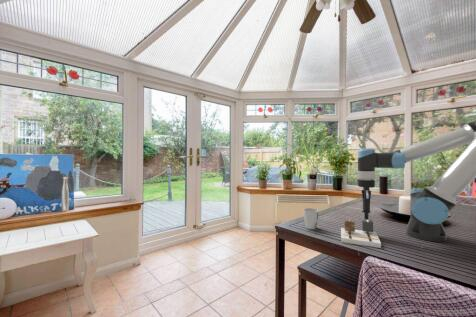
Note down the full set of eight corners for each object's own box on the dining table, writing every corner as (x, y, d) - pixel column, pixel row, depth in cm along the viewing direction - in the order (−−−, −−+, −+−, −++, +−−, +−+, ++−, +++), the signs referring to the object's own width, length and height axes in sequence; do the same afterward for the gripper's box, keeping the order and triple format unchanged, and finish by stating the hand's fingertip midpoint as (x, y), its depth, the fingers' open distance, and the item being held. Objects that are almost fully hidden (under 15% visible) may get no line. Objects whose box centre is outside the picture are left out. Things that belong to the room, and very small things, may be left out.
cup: (319, 230, 115) (319, 212, 115) (304, 229, 116) (304, 211, 116) (317, 225, 123) (317, 208, 122) (302, 225, 124) (302, 207, 124)
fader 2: (372, 230, 106) (372, 220, 106) (373, 232, 103) (373, 222, 103) (362, 229, 108) (362, 219, 108) (362, 231, 105) (362, 220, 105)
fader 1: (354, 229, 107) (354, 220, 107) (354, 232, 104) (354, 221, 104) (344, 228, 109) (344, 218, 109) (344, 230, 106) (344, 220, 106)
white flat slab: (375, 236, 106) (375, 231, 106) (381, 248, 93) (381, 242, 93) (341, 231, 113) (341, 227, 113) (341, 242, 99) (341, 237, 99)
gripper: (357, 177, 117) (357, 220, 117) (358, 180, 105) (358, 227, 106) (373, 178, 113) (373, 222, 114) (376, 180, 102) (376, 230, 102)
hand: (366, 224), depth 110 cm, fingers closed
